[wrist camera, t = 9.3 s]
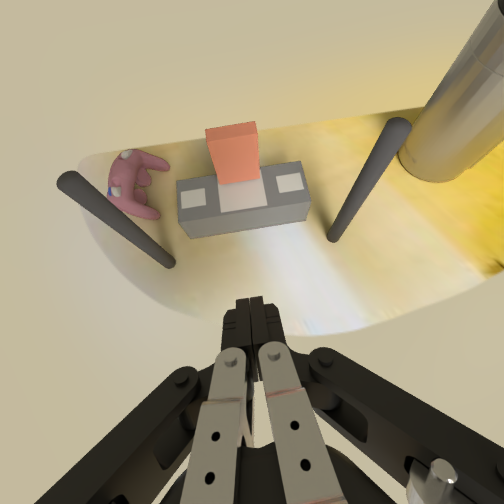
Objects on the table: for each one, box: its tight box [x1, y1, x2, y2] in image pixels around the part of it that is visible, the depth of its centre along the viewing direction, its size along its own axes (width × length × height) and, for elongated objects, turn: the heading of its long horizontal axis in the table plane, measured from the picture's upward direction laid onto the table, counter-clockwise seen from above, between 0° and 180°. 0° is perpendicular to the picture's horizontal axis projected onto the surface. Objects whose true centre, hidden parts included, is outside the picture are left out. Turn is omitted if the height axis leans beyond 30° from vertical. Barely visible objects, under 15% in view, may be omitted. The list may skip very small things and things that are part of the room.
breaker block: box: [176, 161, 311, 239], centre depth 33 cm, size 16×6×5 cm, turn 98°
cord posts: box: [57, 117, 412, 269], centre depth 25 cm, size 24×2×18 cm, turn 98°
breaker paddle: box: [205, 121, 260, 185], centre depth 28 cm, size 5×2×7 cm, turn 98°
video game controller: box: [107, 149, 170, 220], centre depth 35 cm, size 10×5×7 cm, turn 177°
